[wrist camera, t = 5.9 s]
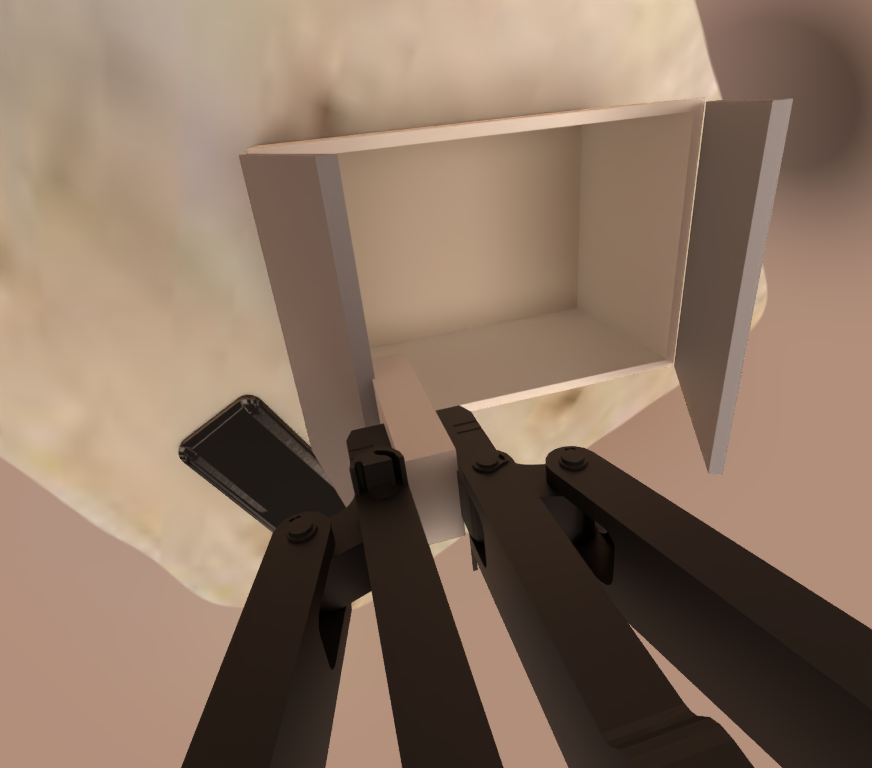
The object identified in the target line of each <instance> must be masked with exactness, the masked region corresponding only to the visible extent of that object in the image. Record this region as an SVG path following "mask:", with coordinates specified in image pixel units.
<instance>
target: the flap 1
mask: <svg viewBox="0 0 872 768" xmlns="http://www.w3.org/2000/svg"><path fill="white" fill-rule="evenodd" d="M239 158H240V162H241V166H242V170H243V174H244V178H245V182H246V186H247V190H248V194H249V198H250V202H251V207H252V211H253V215H254V219H255V223H256V227H257V231H258V235H259V239H260V243H261V247H262V251H263V255H264V259H265V263H266V267H267V271H268V275H269V279H270V283H271V287H272V291H273V295H274V299H275V303H276V307H277V312H278V316H279V320H280V324H281V328H282V332H283V336H284V340H285V344H286V348H287V352H288V356H289V360H290V364H291V368H292V372H293V376H294V380H295V384H296V388H297V392H298V396H299V400H300V404H301V408H302V413H303V417H304V421H305V425H306V429H307V433H308V437H309V441H310V445H311V449H312V451H313V453H314V455H315V456H316V458H317V460H318V461H319V463H320V465H321V466H322V468H323V470H324V471H325V473H326V475H327V476H328V478H329V480H330V481H331V483H332V485H333V486H334V488H335V490H336V491H337V493H338V495H339V496H340V498H341V500H342V501H343V503H344V505H345V506H346V507H347V506H348V505H349V504H350V503H351V501H352V500H353V498H354V495H355V493H354V489H353V484H352V480H351V475H350V471H349V467H350V459H349V454H348V449H347V443H346V440H347V438H348V436H349V434H350V432H351V430H356V429H360V428H365V427H369V426H374V425H378V424H380V419H379V414H378V408H377V403H376V397H375V392H374V386H373V381H372V379H375V376H374V370H373V364H372V358H371V352H370V346H369V340H368V334H367V328H366V322H365V316H364V311H363V305H362V299H361V293H360V287H359V281H358V275H357V269H356V263H355V257H354V251H353V245H352V239H351V233H350V228H349V222H348V216H347V210H346V204H345V198H344V192H343V186H342V180H341V174H340V168H339V162H338V156H337V154H246V155H239Z"/></svg>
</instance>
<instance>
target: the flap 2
mask: <svg viewBox="0 0 872 768" xmlns="http://www.w3.org/2000/svg"><path fill="white" fill-rule="evenodd" d="M792 102H793V99H759V100H718V101H709V102H706V110H705V118H704V126H703V134H702V142H701V151H700V159H699V167H698V175H697V183H696V192H695V200H694V208H693V216H692V225H691V233H690V241H689V249H688V257H687V266H686V274H685V282H684V290H683V298H682V307H681V315H680V323H679V331H678V339H677V348H676V356H675V364H674V367H675V370H676V373H677V376H678V380H679V383H680V386H681V389H682V392H683V395H684V398H685V402H686V405H687V408H688V411H689V414H690V417H691V420H692V424H693V427H694V430H695V433H696V436H697V439H698V442H699V445H700V449H701V452H702V455H703V458H704V461H705V464H706V467H707V470H708V473H711V474H723V469H724V463H725V458H726V453H727V448H728V442H729V437H730V432H731V426H732V421H733V416H734V410H735V405H736V400H737V394H738V389H739V384H740V378H741V373H742V368H743V362H744V357H745V351H746V346H747V341H748V335H749V331H750V325H751V320H752V315H753V309H754V304H755V299H756V293H757V288H758V283H759V277H760V272H761V267H762V261H763V256H764V251H765V245H766V240H767V235H768V229H769V224H770V218H771V214H772V208H773V203H774V198H775V192H776V186H777V182H778V176H779V171H780V166H781V160H782V155H783V150H784V144H785V138H786V133H787V128H788V123H789V118H790V113H791V107H792Z"/></svg>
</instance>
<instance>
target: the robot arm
mask: <svg viewBox="0 0 872 768" xmlns="http://www.w3.org/2000/svg"><path fill="white" fill-rule="evenodd" d="M372 364H373V370H374V376H375V379H372V381H373V386H374V392H375V397H376V403H377V408H378V414H379V419H380V424H378V425H374V426H369V427H365V428H360V429H356V430H351V432H350V434H349V436H348V438H347V440H346V443H347V449H348V454H349V459H350V467H349V471H350V475H351V480H352V484H353V489H354V493H355V495H354V498H353V500H352V501H351V503H350V504H349V505H348V506H347V507H346V508H345V509H344V510H343V511H341V512H339V513H337V514H336V515H334V516H332V517H330V518H327V516H326V515H324V514H322V513H319V512H309V511H308V512H303V513H298V514H295V515H293V516H291V517H289V518H287V519H285V520H284V521H283V522H282V523H281V524H279V525H278V526H277V528H276V529H275V531H274V532H273V534H272V537H271V539H270V542H269V545H268V547H267V550H266V552H265V555H264V557H263V560H262V562H261V565H260V568H259V570H258V573H257V575H256V578H255V580H254V583H253V585H252V588H251V590H250V593H249V596H248V598H247V601H246V603H245V606H244V608H243V611H242V613H241V616H240V619H239V621H238V624H237V626H236V629H235V632H234V634H233V636H232V639H231V642H230V644H229V647H228V650H227V652H226V654H225V657H224V660H223V662H222V665H221V667H220V670H219V672H218V675H217V677H216V680H215V682H214V685H213V688H212V690H211V693H210V695H209V698H208V700H207V703H206V705H205V708H204V711H203V713H202V716H201V718H200V721H199V723H198V726H197V729H196V731H195V734H194V736H193V739H192V741H191V744H190V746H189V749H188V752H187V754H186V757H185V759H184V762H183V764H182V767H181V768H325V766H326V760H327V754H328V748H329V742H330V736H331V730H332V724H333V718H334V712H335V707H336V700H337V694H338V688H339V683H340V676H341V670H342V664H343V659H344V653H345V647H346V641H347V635H348V629H349V623H350V617H351V611H352V607H351V603H352V602H353V601H355V600H357V599H358V598H360V597H362V596H364V595H365V594H367V593H369V592H370V591H372V596H373V602H374V607H375V613H376V619H377V625H378V630H379V636H380V642H381V647H382V654H383V659H384V665H385V671H386V676H387V682H388V688H389V694H390V700H391V705H392V710H393V717H394V723H395V728H396V734H397V740H398V746H399V751H400V757H401V763H402V768H503V765H502V762H501V759H500V756H499V753H498V750H497V747H496V744H495V741H494V738H493V735H492V732H491V729H490V726H489V723H488V720H487V717H486V714H485V711H484V708H483V705H482V702H481V699H480V696H479V693H478V690H477V687H476V684H475V682H474V678H473V675H472V672H471V670H470V666H469V663H468V660H467V657H466V655H465V651H464V649H463V646H462V642H461V639H460V637H459V634H458V631H457V628H456V625H455V622H454V619H453V616H452V613H451V610H450V607H449V604H448V601H447V598H446V595H445V592H444V589H443V586H442V583H441V580H440V577H439V574H438V571H437V568H436V565H435V562H434V559H433V556H432V553H431V550H430V547H429V545H431V544H435V543H438V542H442V541H446V540H449V539H453V538H457V537H461V536H464V535H465V527H464V522H465V524H466V527H467V529H468V531H469V535H470V545H471V555H472V564H473V570H474V571H475V570H478V568H477V563H478V565H479V568H480V570H481V572H482V574H483V576H484V579H485V581H486V583H487V586H488V588H489V590H490V592H491V595H492V597H493V599H494V601H495V604H496V606H497V608H498V610H499V613H500V615H501V617H502V619H503V622H504V623H505V626H506V628H507V630H508V633H509V635H510V637H511V640H512V642H513V644H514V646H515V648H516V651H517V653H518V655H519V657H520V660H521V662H522V664H523V666H524V669H525V671H526V673H527V675H528V678H529V680H530V682H531V684H532V687H533V689H534V691H535V693H536V696H537V698H538V700H539V702H540V705H541V707H542V709H543V711H544V714H545V716H546V718H547V720H548V723H549V725H550V727H551V729H552V731H553V734H554V736H555V738H556V740H557V743H558V745H559V747H560V750H561V751H562V754H563V756H564V758H565V761H566V763H567V765H568V767H569V768H754V767H753V765H752V764H751V763H750V761H749V760H748V759H747V758H746V756H745V755H744V753H743V752H742V750H741V749H740V748H739V746H738V745H737V744H736V743H735V741H734V740H733V739H732V737H731V736H730V735H729V734H728V733H727V732H726V730H725V729H724V728H723V727H722V726H721V725H720V724H719V723H717V722H716V721H715V720H713V719H712V718H710V717H704V716H697V715H695V714H694V713H692V712H691V711H690V710H689V708H688V707H687V706H686V705H685V703H684V702H683V701H682V699H681V698H680V696H679V695H678V694H677V692H676V691H675V689H674V688H673V687H672V685H671V684H670V682H669V681H668V680H667V678H666V676H665V675H664V674H663V672H662V671H661V670H660V668H659V667H658V665H657V664H656V662H655V661H654V659H653V658H652V657H651V655H650V654H649V652H648V651H647V649H646V648H645V647H644V645H643V644H642V642H641V641H640V639H639V638H638V637H637V635H636V634H635V632H634V631H633V630H632V628H631V627H630V625H631V626H632V627H633V628H634V629H635V630H636V631H637V632H638V633H640V634H641V635H642V636H643V637H644V638H645V639H646V640H647V641H648V642H649V643H650V644H651V645H653V647H655V648H656V649H657V650H658V651H659V652H660V653H661V654H662V655H663V656H664V657H665V658H666V659H667V660H668V661H669V662H670V663H671V664H673V665H674V666H675V667H676V668H677V669H678V670H679V671H680V672H681V673H682V674H683V675H684V676H685V677H686V678H687V679H689V680H690V681H691V682H692V683H693V684H694V685H695V686H696V687H697V688H698V689H699V690H700V691H701V692H702V693H703V694H705V695H706V696H707V697H708V698H709V699H710V700H711V701H712V702H713V703H714V704H715V705H716V706H717V707H718V708H719V709H720V710H722V711H723V712H724V713H725V714H726V715H727V716H728V717H729V718H730V719H731V720H732V721H733V722H734V723H735V724H736V725H738V726H739V727H740V728H741V729H742V730H743V731H744V732H745V733H746V734H747V735H748V736H749V737H750V738H751V739H752V740H754V741H755V742H756V743H757V744H758V745H759V746H760V747H761V748H762V749H763V750H764V751H765V752H766V753H767V754H769V755H770V756H771V757H772V758H773V759H774V760H775V761H776V762H777V763H778V764H779V765H780V766H781V767H782V768H872V629H870V628H869V627H867V626H866V625H864V624H862V623H861V622H859V621H858V620H856V619H855V618H853V617H851V616H850V615H848V614H847V613H845V612H844V611H842V610H840V609H839V608H837V607H836V606H834V605H833V604H831V603H829V602H828V601H826V600H824V599H823V598H822V597H820V596H818V595H817V594H815V593H814V592H812V591H810V590H809V589H807V588H806V587H804V586H803V585H801V584H800V583H798V582H796V581H795V580H793V579H792V578H790V577H789V576H787V575H786V574H784V573H782V572H781V571H779V570H778V569H776V568H775V567H773V566H771V565H770V564H768V563H766V562H765V561H764V560H762V559H760V558H759V557H757V556H755V555H754V554H753V553H751V552H749V551H748V550H746V549H745V548H743V547H741V546H740V545H738V544H737V543H735V542H734V541H732V540H730V539H729V538H727V537H726V536H724V535H723V534H721V533H720V532H718V531H716V530H715V529H713V528H711V527H710V526H709V525H707V524H705V523H704V522H702V521H700V520H699V519H698V518H696V517H694V516H693V515H691V514H690V513H688V512H687V511H685V510H683V509H682V508H680V507H679V506H677V505H676V504H674V503H672V502H671V501H669V500H668V499H666V498H665V497H663V496H661V495H660V494H658V493H657V492H655V491H654V490H652V489H650V488H649V487H647V486H646V485H644V484H642V483H641V482H639V481H638V480H636V479H635V478H633V477H632V476H630V475H629V474H627V473H625V472H624V471H622V470H621V469H619V468H617V467H616V466H614V465H613V464H611V463H610V462H608V461H607V460H605V459H603V458H602V457H600V456H599V455H597V454H595V453H594V452H592V451H590V450H588V449H585V448H581V447H576V446H568V447H561V448H557V449H555V450H553V451H552V452H550V453H549V454H548V456H547V457H546V464H540V465H523V464H517V463H515V462H514V460H513V459H512V458H511V457H510V456H509V455H508V454H507V453H504V452H501V451H499V450H496V449H495V447H494V446H493V444H492V443H491V441H490V440H489V438H488V437H487V435H486V434H485V432H484V431H483V429H481V426H480V425H479V423H478V422H477V420H476V419H475V417H474V416H473V414H472V413H471V411H469V410H467V409H465V408H464V407H462V406H460V405H458V406H454V407H449V408H445V409H440V410H436V411H435V409H434V407H433V406H432V404H431V402H430V400H429V398H428V396H427V394H426V392H425V391H424V389H423V387H422V385H421V383H420V381H419V379H418V377H417V376H416V374H415V372H414V370H413V368H412V366H411V364H410V362H409V361H408V359H407V357H406V355H405V353H404V352H402V353H397V354H392V355H387V356H382V357H377V358H372ZM628 623H629V624H630V625H629V624H628Z"/></svg>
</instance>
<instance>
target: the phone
mask: <svg viewBox="0 0 872 768" xmlns="http://www.w3.org/2000/svg"><path fill="white" fill-rule="evenodd" d="M179 457H180V459H181V460H182V461H183V462H184V463H185V464H186V465H188V466H189V467H190V468H192V469H193V470H194V471H195V472H197V473H198V474H199V475H200V476H202V477H203V478H204V479H206V480H207V481H208V482H209V483H211V484H212V485H213V486H214V487H216V488H217V489H218V490H220V491H221V492H222V493H223V494H225V495H226V496H227V497H228V498H230V499H231V500H232V501H234V502H235V503H236V504H237V505H239V506H240V507H241V508H242V509H244V510H245V511H246V512H248V513H249V514H250V515H251V516H253V517H254V518H255V519H256V520H258V521H259V522H260V523H261V524H263V525H264V526H265V527H267V528H268V529H269V530H270V531H272V532H274V531H275V529H276V528H277V526H278V525H279V524H281V523H282V522H283V521H284V520H285V519H287V518H289V517H291V516H293V515H295V514H298V513H303V512H308V511H309V512H319V513H322V514H324V515H326V516H327V518H330V517H332V516H334V515H336V514H337V513H339V512H341V511H343V510H344V509H345V508H346V506H345V505H344V503H343V501H342V500H341V498H340V496H339V495H338V493H337V491H336V490H335V488H334V486H333V485H332V483H331V481H330V480H329V478H328V476H327V475H326V473H325V471H324V470H323V468H322V466H321V465H320V463H319V461H318V460H317V458H316V456H315V455H314V453H313V451H312V449H311V447H310V446H309V445H308V444H307V443H306V442H305V441H304V440H303V439H302V438H300V437H299V436H298V435H297V434H296V433H295V432H294V431H293V430H292V429H291V428H290V427H289V426H288V425H287V424H286V423H285V422H284V421H283V420H282V419H280V418H279V417H278V416H277V415H276V414H275V413H274V412H273V411H272V410H271V409H270V408H269V407H268V406H267V405H266V404H265V403H264V402H263V401H262V400H260V399H259V398H258V397H256V396H253V395H245V396H242V397H240V398H238V399H237V400H236V401H234V402H233V403H232V404H230V405H229V406H228V407H226V408H225V409H224V410H222V411H221V412H220V413H219V414H217V415H216V416H215V417H213V418H212V419H211V420H209V421H208V422H207V423H205V424H204V425H203V426H202V427H200V428H199V429H198V430H196V431H195V432H194V433H192V434H191V435H190V436H188V437H187V438H186V439H185V440H184V441H183V442H182V443H181V446H180V448H179Z"/></svg>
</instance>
